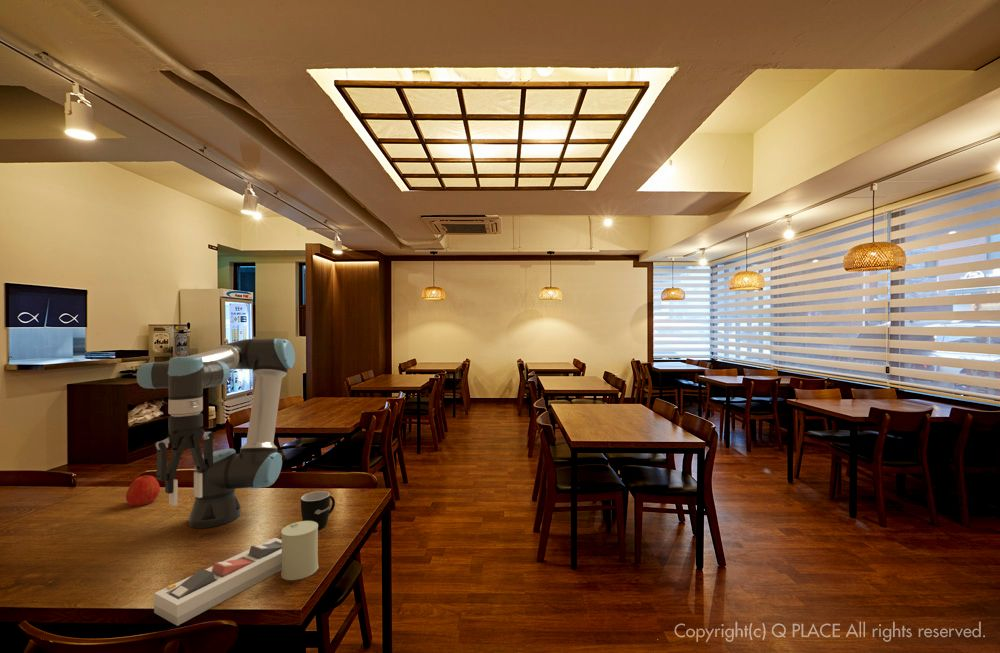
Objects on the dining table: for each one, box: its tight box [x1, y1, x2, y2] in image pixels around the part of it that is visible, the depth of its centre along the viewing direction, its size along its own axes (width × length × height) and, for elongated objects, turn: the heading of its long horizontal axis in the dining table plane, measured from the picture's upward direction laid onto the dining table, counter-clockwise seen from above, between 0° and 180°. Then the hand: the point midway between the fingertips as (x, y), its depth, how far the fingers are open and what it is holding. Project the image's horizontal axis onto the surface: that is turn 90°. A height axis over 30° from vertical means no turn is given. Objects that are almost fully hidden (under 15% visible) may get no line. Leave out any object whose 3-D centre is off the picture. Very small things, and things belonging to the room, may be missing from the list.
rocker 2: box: [249, 543, 282, 557], centre depth 118 cm, size 8×5×2 cm, turn 152°
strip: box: [153, 537, 282, 627], centre depth 113 cm, size 38×10×5 cm, turn 152°
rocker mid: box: [212, 559, 253, 575], centre depth 110 cm, size 8×5×2 cm, turn 152°
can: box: [280, 520, 319, 581], centre depth 116 cm, size 9×9×12 cm
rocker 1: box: [169, 568, 215, 599], centre depth 102 cm, size 8×5×2 cm, turn 153°
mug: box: [300, 490, 336, 530], centre depth 144 cm, size 12×9×10 cm
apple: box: [125, 474, 161, 507], centre depth 165 cm, size 10×10×10 cm
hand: (186, 500), depth 115 cm, fingers open, 5 cm apart
